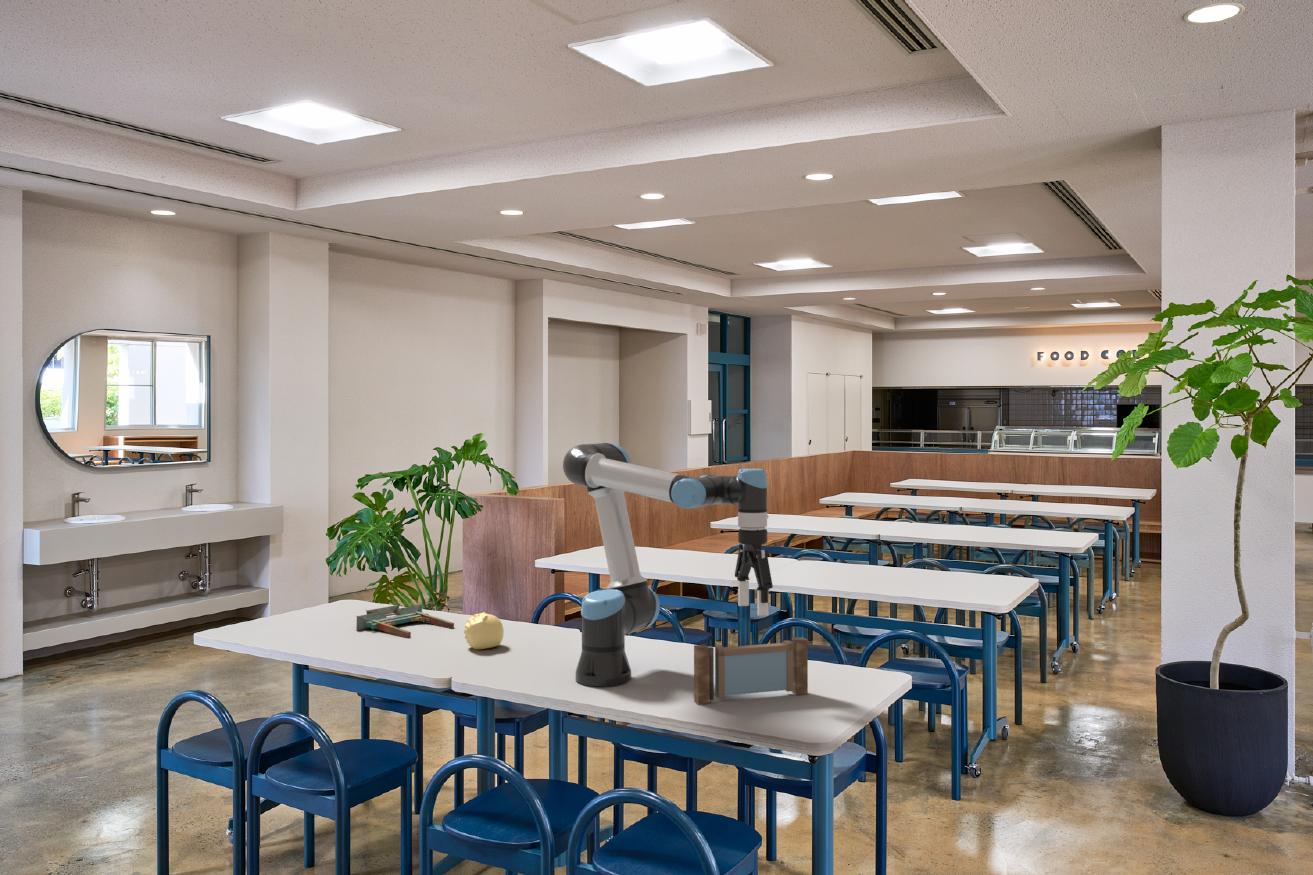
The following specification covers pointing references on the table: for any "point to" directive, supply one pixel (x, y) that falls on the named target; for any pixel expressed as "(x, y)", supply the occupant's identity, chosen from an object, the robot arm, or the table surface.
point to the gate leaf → (753, 668)
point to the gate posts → (706, 670)
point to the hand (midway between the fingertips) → (753, 610)
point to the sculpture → (483, 631)
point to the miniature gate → (397, 619)
